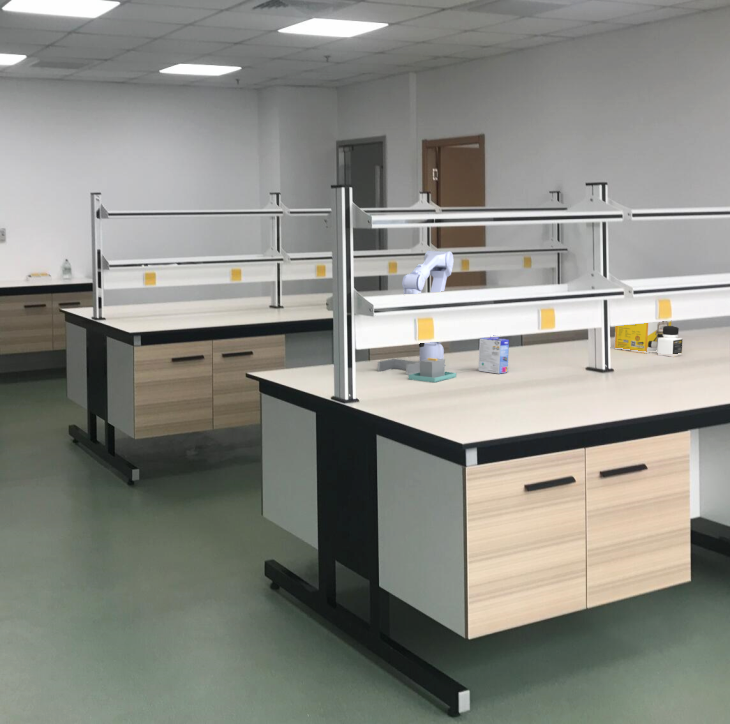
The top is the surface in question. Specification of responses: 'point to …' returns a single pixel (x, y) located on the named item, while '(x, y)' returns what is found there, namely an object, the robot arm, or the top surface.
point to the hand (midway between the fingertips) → (412, 345)
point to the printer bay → (400, 365)
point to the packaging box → (640, 336)
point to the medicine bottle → (670, 341)
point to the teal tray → (428, 379)
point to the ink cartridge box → (493, 355)
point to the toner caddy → (432, 367)
